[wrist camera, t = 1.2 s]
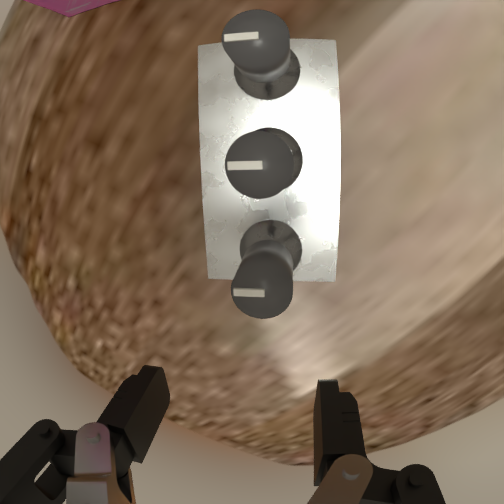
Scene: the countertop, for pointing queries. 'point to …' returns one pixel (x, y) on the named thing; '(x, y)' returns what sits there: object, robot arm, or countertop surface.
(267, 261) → the knob
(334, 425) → the robot arm
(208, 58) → the mount plate
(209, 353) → the countertop surface
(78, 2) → the gum box
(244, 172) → the knob mid
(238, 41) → the knob
